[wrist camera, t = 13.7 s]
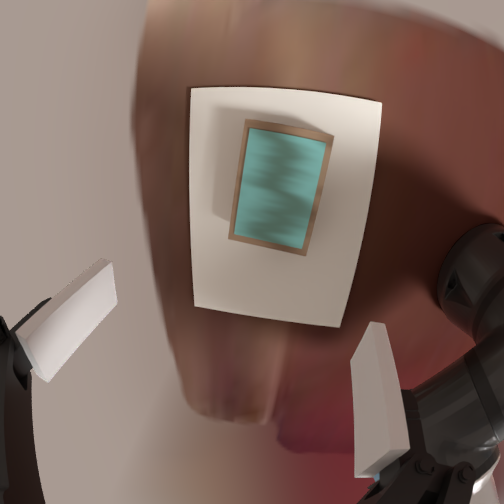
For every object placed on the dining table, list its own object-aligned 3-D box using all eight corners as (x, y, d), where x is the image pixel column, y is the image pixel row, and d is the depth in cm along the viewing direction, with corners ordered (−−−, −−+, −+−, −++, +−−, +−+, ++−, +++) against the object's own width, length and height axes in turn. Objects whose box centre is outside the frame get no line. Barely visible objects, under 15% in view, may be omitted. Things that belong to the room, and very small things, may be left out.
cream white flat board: (194, 89, 27) (191, 88, 26) (380, 103, 24) (382, 102, 23) (196, 302, 39) (194, 306, 39) (339, 323, 36) (339, 327, 36)
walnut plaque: (306, 240, 32) (330, 134, 26) (305, 257, 28) (334, 135, 22) (237, 225, 32) (253, 119, 27) (227, 240, 29) (244, 118, 23)
